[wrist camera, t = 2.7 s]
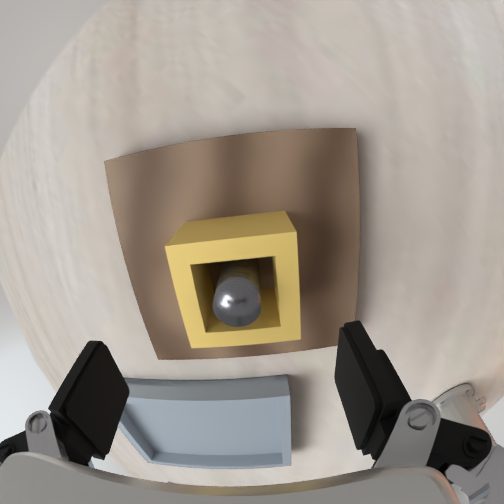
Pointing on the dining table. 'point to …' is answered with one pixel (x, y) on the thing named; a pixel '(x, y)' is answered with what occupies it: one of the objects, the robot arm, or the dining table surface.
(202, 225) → the collar
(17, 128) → the dining table surface
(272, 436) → the tray
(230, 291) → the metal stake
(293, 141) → the board
